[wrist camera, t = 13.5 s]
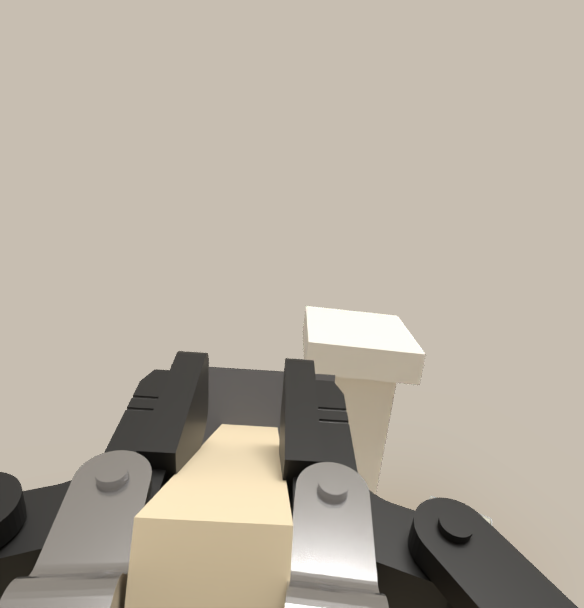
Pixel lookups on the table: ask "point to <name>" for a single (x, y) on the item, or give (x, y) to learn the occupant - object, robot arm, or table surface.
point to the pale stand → (363, 372)
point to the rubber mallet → (221, 508)
